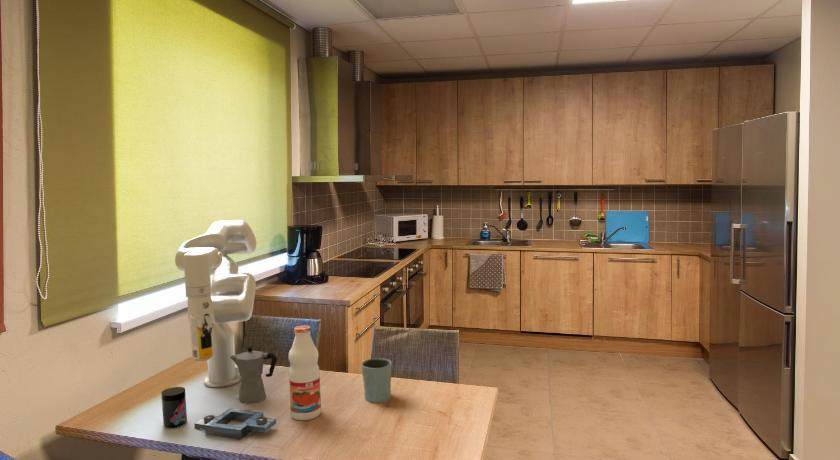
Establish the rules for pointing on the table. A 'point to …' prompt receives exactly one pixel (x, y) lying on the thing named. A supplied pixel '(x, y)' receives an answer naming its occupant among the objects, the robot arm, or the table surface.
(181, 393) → the supplement container
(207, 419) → the lower chain end
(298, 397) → the fruit juice
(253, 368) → the coffeepot
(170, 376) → the table surface
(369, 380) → the drinking glass
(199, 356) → the beer can
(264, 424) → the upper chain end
